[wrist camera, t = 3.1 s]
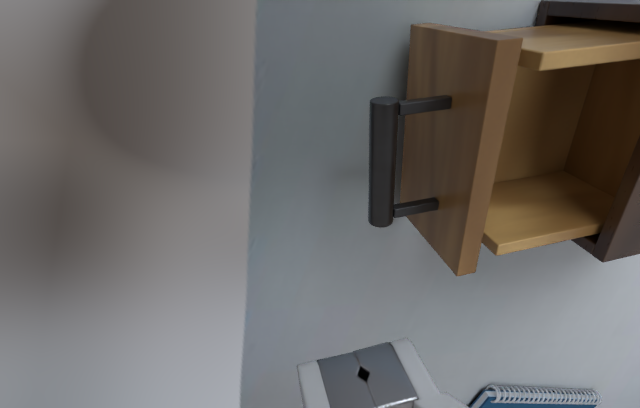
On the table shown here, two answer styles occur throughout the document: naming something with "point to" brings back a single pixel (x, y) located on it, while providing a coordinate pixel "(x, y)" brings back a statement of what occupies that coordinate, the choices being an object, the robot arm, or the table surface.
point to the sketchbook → (536, 398)
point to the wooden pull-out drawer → (508, 135)
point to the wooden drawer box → (636, 186)
